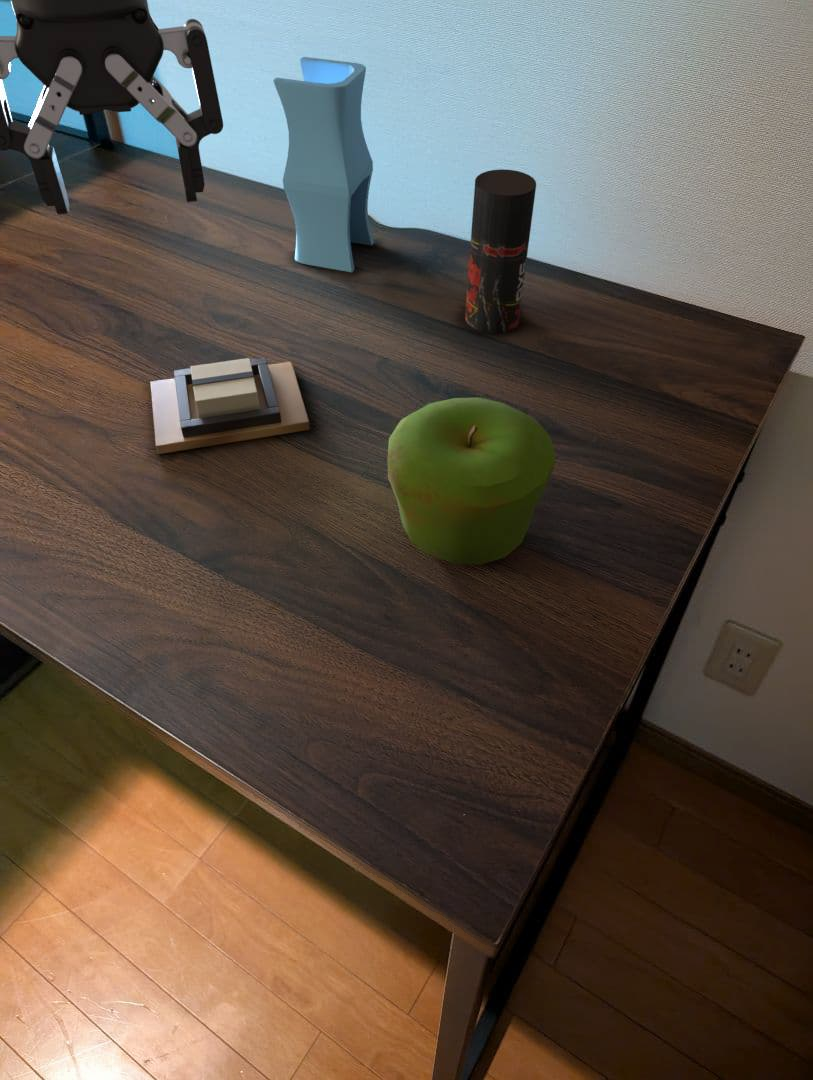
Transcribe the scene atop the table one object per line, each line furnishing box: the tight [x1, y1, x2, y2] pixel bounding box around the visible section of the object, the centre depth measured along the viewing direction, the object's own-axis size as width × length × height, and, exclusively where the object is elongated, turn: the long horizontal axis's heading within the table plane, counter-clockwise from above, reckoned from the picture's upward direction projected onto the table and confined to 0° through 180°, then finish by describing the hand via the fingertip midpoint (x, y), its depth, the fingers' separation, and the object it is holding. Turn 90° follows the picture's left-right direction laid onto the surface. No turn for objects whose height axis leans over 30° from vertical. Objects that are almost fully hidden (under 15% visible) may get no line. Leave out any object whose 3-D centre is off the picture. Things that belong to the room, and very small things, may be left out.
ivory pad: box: [189, 357, 260, 419], centre depth 75 cm, size 6×6×3 cm
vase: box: [273, 56, 375, 273], centre depth 91 cm, size 8×8×20 cm
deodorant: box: [464, 169, 537, 334], centre depth 83 cm, size 6×6×15 cm
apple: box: [387, 396, 557, 565], centre depth 62 cm, size 12×12×11 cm
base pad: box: [149, 357, 311, 455], centre depth 76 cm, size 14×10×2 cm
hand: (128, 203), depth 55 cm, fingers open, 8 cm apart
